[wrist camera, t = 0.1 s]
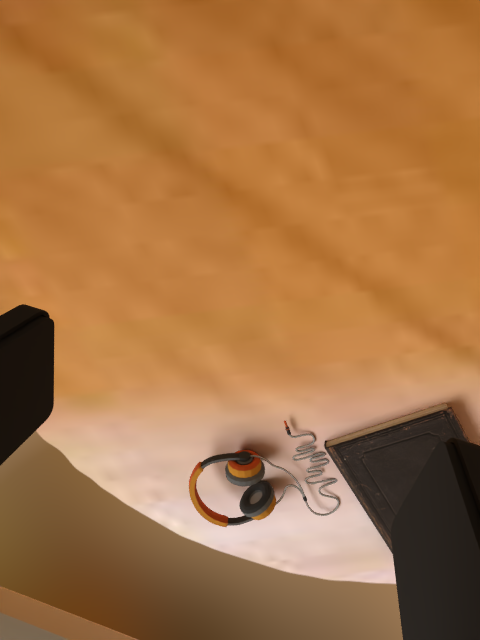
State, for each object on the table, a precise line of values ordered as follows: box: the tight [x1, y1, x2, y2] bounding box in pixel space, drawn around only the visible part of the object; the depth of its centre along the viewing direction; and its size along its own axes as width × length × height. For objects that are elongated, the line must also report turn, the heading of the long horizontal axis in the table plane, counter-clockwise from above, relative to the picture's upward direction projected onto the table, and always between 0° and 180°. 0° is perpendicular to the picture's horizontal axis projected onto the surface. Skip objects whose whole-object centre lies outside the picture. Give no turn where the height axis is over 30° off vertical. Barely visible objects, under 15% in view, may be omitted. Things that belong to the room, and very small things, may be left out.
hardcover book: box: [324, 403, 469, 554], centre depth 54 cm, size 16×23×2 cm
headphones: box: [189, 421, 339, 527], centre depth 57 cm, size 17×5×20 cm
